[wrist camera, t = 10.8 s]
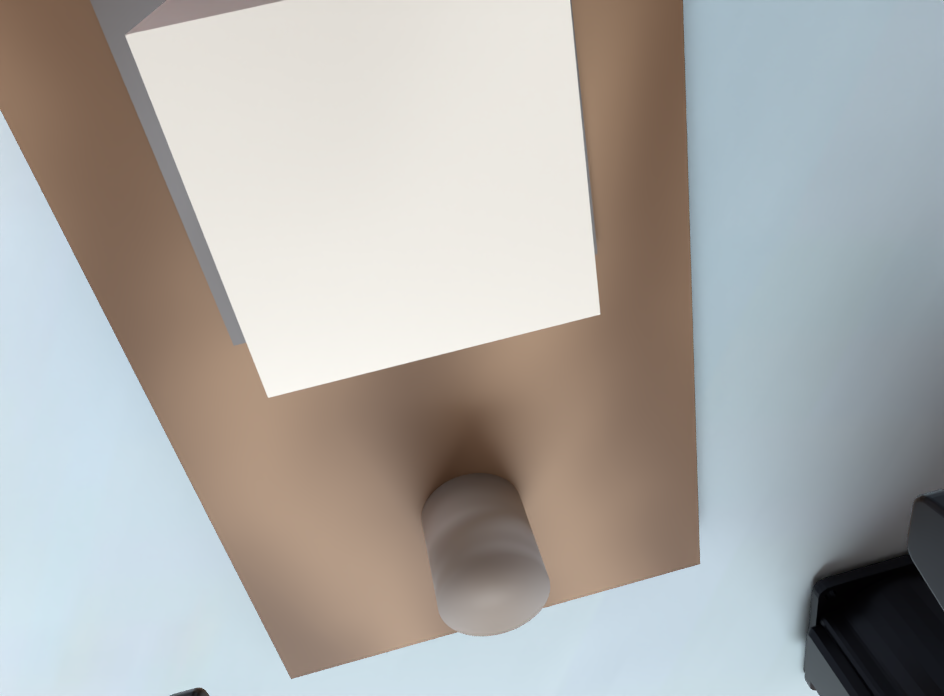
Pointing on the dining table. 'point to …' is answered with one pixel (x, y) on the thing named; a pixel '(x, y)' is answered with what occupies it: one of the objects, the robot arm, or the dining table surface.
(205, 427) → the post stand
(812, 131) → the dining table surface
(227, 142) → the off-white cube box
